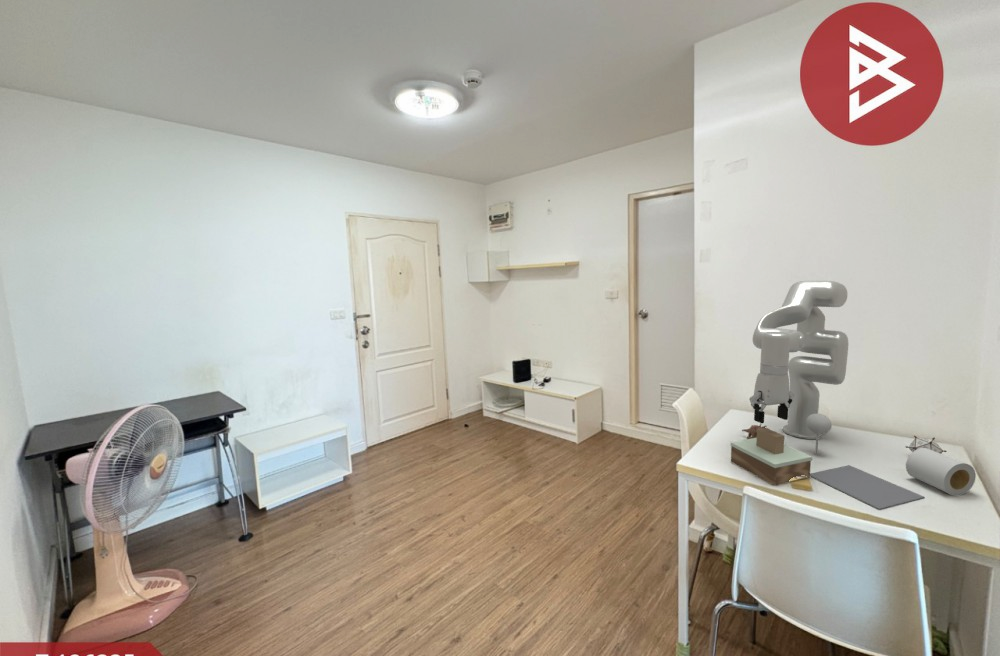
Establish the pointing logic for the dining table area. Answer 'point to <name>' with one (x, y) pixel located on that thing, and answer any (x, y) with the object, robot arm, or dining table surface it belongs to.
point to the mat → (866, 487)
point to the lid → (771, 449)
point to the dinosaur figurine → (753, 431)
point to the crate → (769, 468)
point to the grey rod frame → (925, 445)
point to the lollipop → (818, 426)
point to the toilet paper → (941, 471)
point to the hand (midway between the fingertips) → (770, 420)
